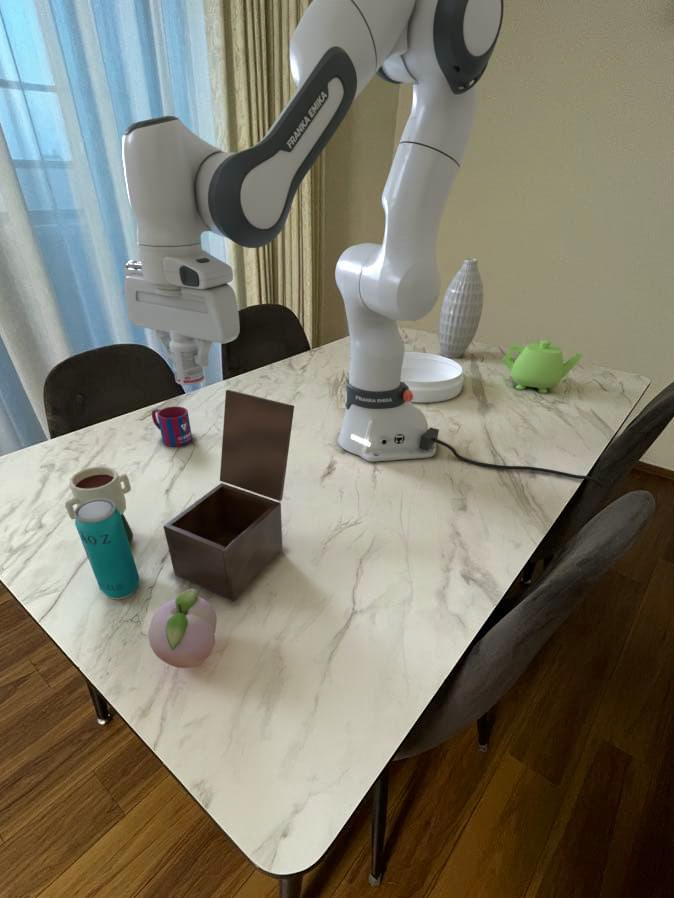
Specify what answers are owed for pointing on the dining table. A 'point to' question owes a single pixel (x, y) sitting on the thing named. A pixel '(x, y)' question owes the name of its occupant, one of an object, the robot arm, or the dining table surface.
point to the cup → (173, 425)
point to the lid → (255, 443)
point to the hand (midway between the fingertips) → (187, 362)
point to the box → (225, 540)
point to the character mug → (100, 490)
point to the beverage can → (107, 547)
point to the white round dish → (431, 377)
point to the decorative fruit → (183, 630)
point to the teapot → (538, 365)
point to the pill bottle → (185, 359)
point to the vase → (461, 310)
